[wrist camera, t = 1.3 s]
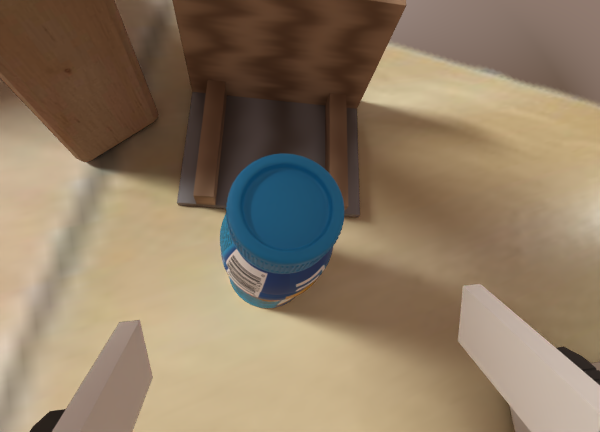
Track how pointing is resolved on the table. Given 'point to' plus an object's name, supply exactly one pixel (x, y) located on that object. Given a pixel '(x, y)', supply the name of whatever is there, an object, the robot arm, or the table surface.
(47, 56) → the wooden block
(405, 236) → the table surface
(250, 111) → the backstop holder
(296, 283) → the beverage bottle
